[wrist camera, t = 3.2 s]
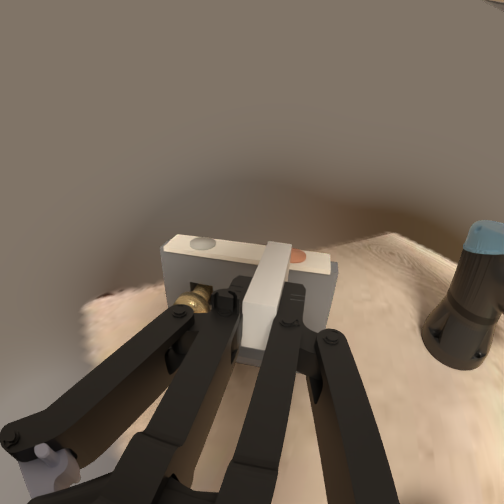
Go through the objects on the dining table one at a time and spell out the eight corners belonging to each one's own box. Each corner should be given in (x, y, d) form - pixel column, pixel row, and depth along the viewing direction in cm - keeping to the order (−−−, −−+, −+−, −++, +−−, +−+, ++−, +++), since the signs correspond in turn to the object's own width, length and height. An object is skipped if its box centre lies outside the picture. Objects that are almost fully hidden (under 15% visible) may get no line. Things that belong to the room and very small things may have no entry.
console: (184, 322, 46) (173, 228, 38) (316, 346, 42) (337, 249, 34) (169, 346, 41) (152, 246, 33) (314, 375, 37) (340, 273, 29)
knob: (199, 287, 42) (197, 261, 40) (227, 292, 41) (227, 265, 39) (174, 324, 34) (170, 295, 32) (207, 331, 34) (204, 302, 32)
